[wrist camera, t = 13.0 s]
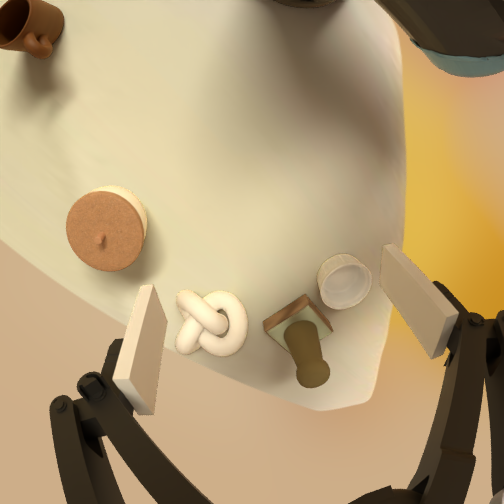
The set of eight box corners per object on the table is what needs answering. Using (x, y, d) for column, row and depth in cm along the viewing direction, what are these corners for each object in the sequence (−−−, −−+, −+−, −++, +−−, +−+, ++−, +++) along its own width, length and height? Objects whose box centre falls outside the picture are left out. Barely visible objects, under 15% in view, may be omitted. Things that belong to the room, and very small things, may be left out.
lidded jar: (157, 245, 44) (144, 280, 36) (92, 244, 43) (69, 277, 34) (152, 175, 39) (135, 196, 31) (83, 178, 38) (53, 199, 29)
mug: (89, 40, 28) (58, 29, 20) (53, 79, 30) (16, 80, 22) (51, -2, 23) (19, -16, 15) (18, 36, 25) (-19, 31, 16)
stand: (305, 293, 51) (309, 304, 48) (329, 322, 55) (334, 332, 52) (262, 321, 53) (265, 333, 50) (290, 346, 57) (293, 357, 54)
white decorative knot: (248, 275, 48) (254, 312, 40) (243, 331, 54) (248, 369, 46) (176, 274, 47) (169, 311, 39) (180, 330, 52) (176, 368, 45)
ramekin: (304, 267, 49) (311, 282, 45) (352, 240, 47) (362, 253, 43) (325, 302, 53) (332, 318, 49) (368, 278, 51) (378, 292, 47)
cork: (307, 347, 53) (323, 394, 44) (277, 342, 52) (289, 392, 42) (323, 323, 51) (342, 370, 41) (291, 317, 49) (307, 367, 40)
